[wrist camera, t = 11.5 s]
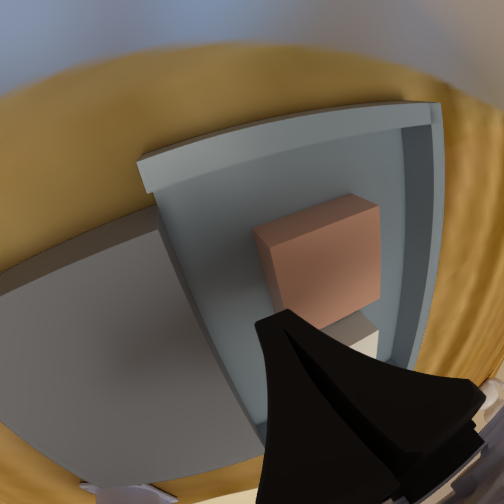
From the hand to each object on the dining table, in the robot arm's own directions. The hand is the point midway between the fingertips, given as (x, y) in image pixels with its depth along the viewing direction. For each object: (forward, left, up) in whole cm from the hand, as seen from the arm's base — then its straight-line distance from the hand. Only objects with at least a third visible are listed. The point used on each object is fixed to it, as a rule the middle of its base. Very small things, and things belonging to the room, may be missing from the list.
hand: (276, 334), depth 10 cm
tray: (-3, -4, -4) cm, 6 cm away
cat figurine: (-66, -56, -4) cm, 86 cm away
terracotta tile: (0, -3, -1) cm, 4 cm away
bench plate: (-4, +10, -4) cm, 11 cm away
